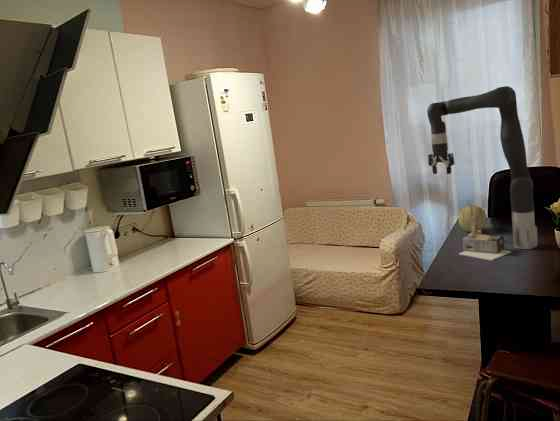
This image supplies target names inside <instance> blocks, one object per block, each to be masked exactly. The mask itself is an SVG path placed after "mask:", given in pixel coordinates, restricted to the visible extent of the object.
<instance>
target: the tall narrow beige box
mask: <svg viewBox="0 0 560 421" xmlns="http://www.w3.org/2000/svg"><path fill="white" fill-rule="evenodd" d="M471 227H472V232H469V233H468V234H467V235H469V234H479V235H483V232H482V230H478V227H477V217H475V216H473V217H471Z"/></svg>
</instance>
